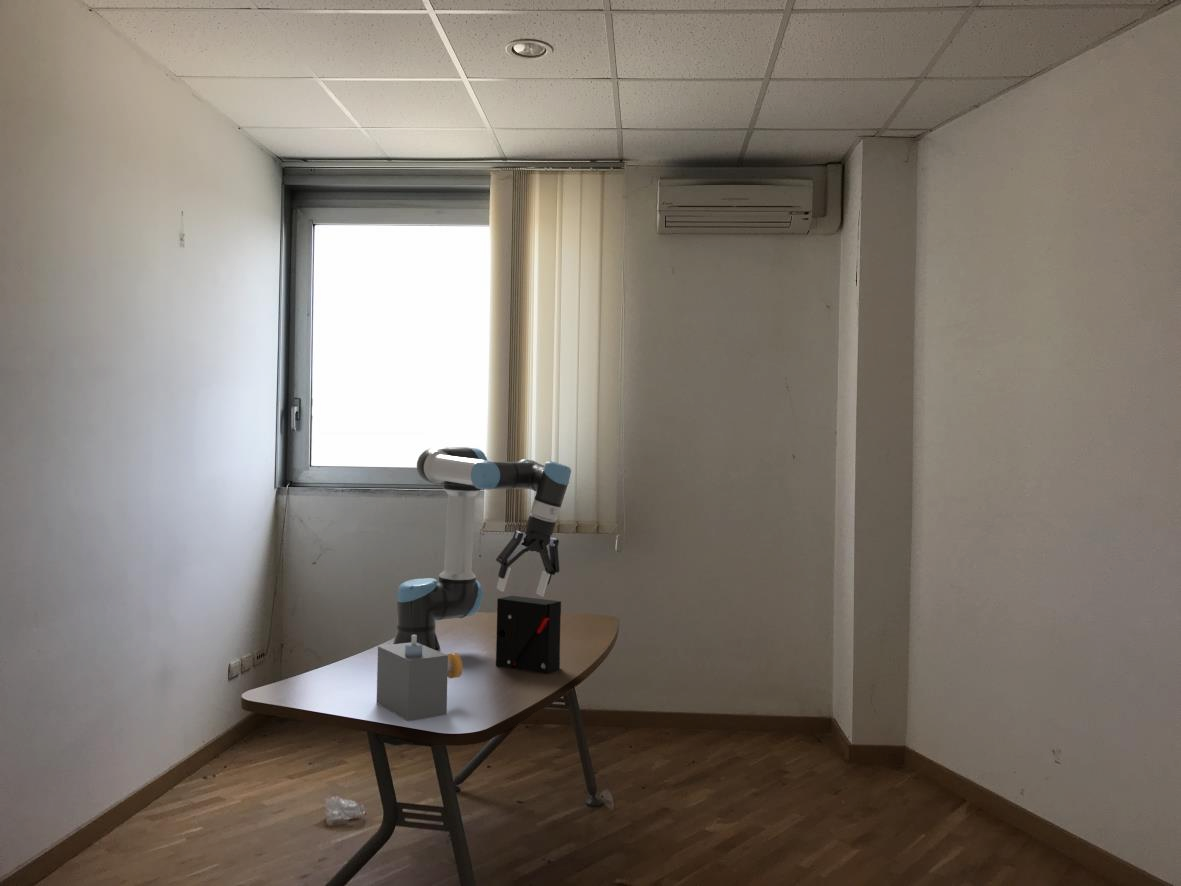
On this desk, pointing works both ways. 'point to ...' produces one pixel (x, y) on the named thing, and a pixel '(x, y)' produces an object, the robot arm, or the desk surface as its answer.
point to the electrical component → (528, 634)
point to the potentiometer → (413, 648)
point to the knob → (454, 665)
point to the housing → (412, 682)
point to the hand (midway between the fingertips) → (520, 592)
